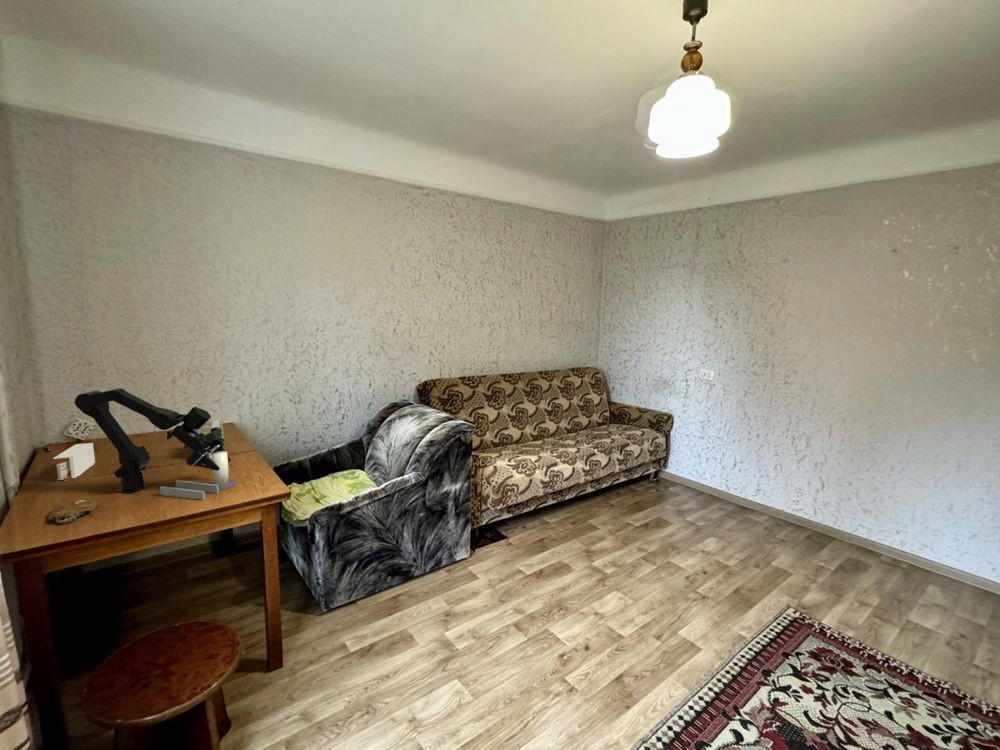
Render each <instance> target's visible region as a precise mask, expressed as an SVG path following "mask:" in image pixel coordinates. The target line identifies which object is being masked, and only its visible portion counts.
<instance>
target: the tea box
mask: <svg viewBox="0 0 1000 750" xmlns="http://www.w3.org/2000/svg"><path fill="white" fill-rule="evenodd" d="M214 427H217V428H220V430H222V432H221V433H222V435H223V436H221V437H222V438H223V439H224V440H225V438H224V425H223V420H222V419H220V420H219V419H218V420H208V421H207V422H206V423H205V424H204V425H203V426H202V427H201V428H200V429H195V431H196V432H197V433H199V434H200V433H204V434H205V435H206V434H208V433H210V432H211V429H212V428H214ZM207 453H208V452H207ZM211 453H212V452H211ZM211 453H209V457H210V459H211V460H212V455H210V454H211ZM205 454H206V453H205Z"/></svg>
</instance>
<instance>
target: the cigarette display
mask: <svg viewBox="0 0 1000 750" xmlns="http://www.w3.org/2000/svg"><path fill="white" fill-rule="evenodd" d="M60 459H68V460H64V461H61V462H58V463H56V470H57V480H64V479H66V478H69V477H72V478H76V477H77V476H78V477H79V476H80V475H82V474H83V473H84V472H85V471H87V470H88V469H90V468H91V467H93V465H95V464H96V459H95V450H94V443H93V442H89V443H78V444H77V443H76V444H74V445H72V446H71V447H69V448H68V449H66V450H64V451H62V452H61V453H59V454H58V455H56V456H55V457H53V460H60ZM94 463H95V464H94ZM89 467H90V468H89ZM78 477H77V478H78ZM77 478H76V479H77ZM64 481H65V480H64Z"/></svg>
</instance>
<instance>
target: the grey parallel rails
mask: <svg viewBox="0 0 1000 750" xmlns="http://www.w3.org/2000/svg"><path fill="white" fill-rule="evenodd" d="M174 481H175V487H171V486H170V487H169V486H163V485H162V486H160V487H159V491H160V492H159V493H160V496H166V497H174V498H180V497H181V498H182V499H188V498H189V499H190V500H196V499H199V501H205V500H206V494H205V493H210V494H219V493H220V490H219V486H218V485H215V484H212V483H206V482H194V481H188V480H187V481H186V480H178V479H176V480H174ZM189 499H188V500H189Z"/></svg>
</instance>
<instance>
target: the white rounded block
mask: <svg viewBox="0 0 1000 750" xmlns="http://www.w3.org/2000/svg"><path fill="white" fill-rule="evenodd" d="M227 455H228V451H226V450H225V451H219V452H214V453H212V459H211V460H212V461H214V462H215V463H216V464H217V465H218V467H219V468H220V469H219V470H218V471H216V470H212V477H213V478H212V479H213V483H214V484H215V485H218V486H219V487H225V486H227V485H229V480H230V474H229V473H230V472H229V462H228V456H229V455H228V456H227Z"/></svg>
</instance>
